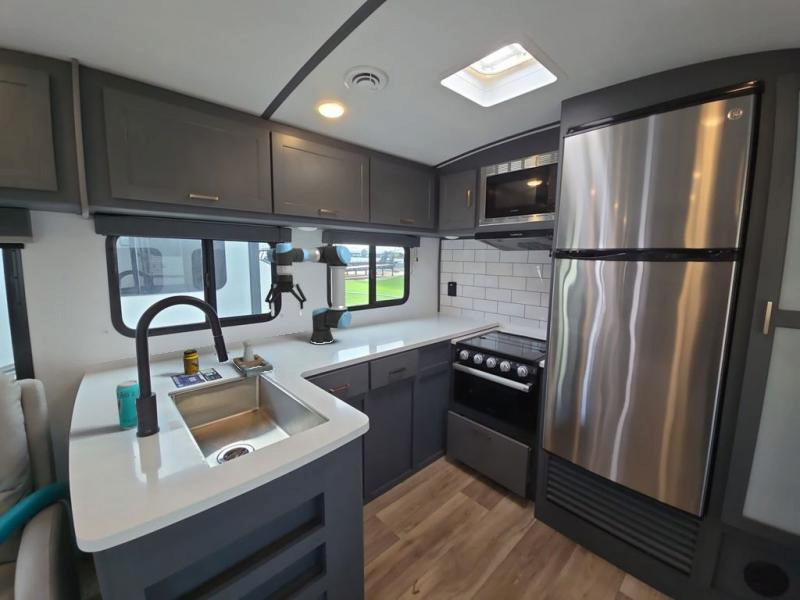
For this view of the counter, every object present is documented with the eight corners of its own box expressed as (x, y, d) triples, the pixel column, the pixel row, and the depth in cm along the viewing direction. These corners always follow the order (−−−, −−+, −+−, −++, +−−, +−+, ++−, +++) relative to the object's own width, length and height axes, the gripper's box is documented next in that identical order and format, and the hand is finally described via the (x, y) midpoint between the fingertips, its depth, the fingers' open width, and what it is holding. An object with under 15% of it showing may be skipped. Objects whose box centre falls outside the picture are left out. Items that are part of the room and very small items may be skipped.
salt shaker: (248, 366, 165) (247, 342, 164) (240, 365, 167) (238, 341, 166) (257, 363, 171) (256, 340, 169) (249, 362, 173) (247, 339, 171)
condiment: (201, 374, 154) (200, 350, 152) (181, 379, 148) (179, 354, 146) (198, 371, 159) (196, 347, 157) (177, 375, 153) (175, 351, 151)
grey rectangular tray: (233, 363, 170) (233, 358, 170) (257, 359, 178) (256, 354, 177) (247, 377, 150) (247, 371, 150) (273, 371, 158) (272, 365, 158)
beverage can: (120, 425, 106) (115, 382, 104) (142, 420, 110) (138, 378, 108) (120, 432, 102) (115, 388, 100) (143, 426, 106) (138, 383, 104)
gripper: (256, 274, 155) (259, 317, 158) (308, 274, 158) (310, 316, 160) (261, 274, 163) (264, 314, 165) (311, 273, 165) (312, 314, 168)
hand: (286, 315), depth 163 cm, fingers open, 13 cm apart
